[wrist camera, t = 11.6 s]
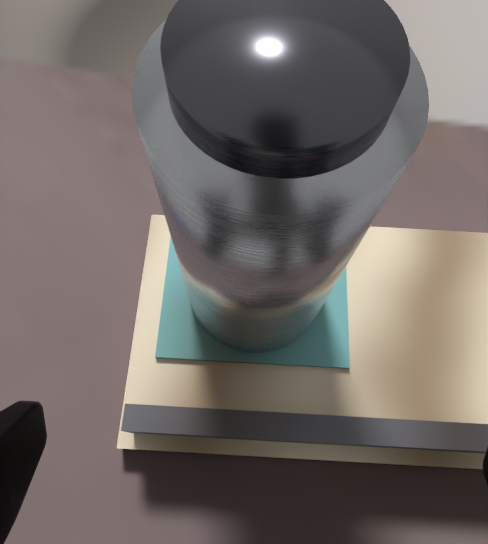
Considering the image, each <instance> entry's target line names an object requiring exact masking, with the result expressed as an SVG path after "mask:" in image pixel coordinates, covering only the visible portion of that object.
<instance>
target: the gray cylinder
mask: <svg viewBox="0 0 488 544" xmlns="http://www.w3.org/2000/svg"><path fill="white" fill-rule="evenodd" d="M132 104H133V110H134V114H135V118H136V122H137V125H138V129H139V132H140V135H141V139H142V142H143V145H144V149H145V152H146V155H147V159H148V162H149V165H150V169H151V172H152V175H153V178H154V182H155V185H156V188H157V192H158V195H159V198H160V202H161V205H162V208H163V212H164V215H165V218H166V222H167V225H168V228H169V232H170V235H171V238H172V242H173V245H174V248H175V252H176V255H177V258H178V262H179V265H180V268H181V272H182V275H183V278H184V281H185V285H186V288H187V291H188V295H189V298H190V301H191V305H192V308H193V311H194V313H195V316H196V318H197V319H198V321H199V323H200V324H201V326H202V327H203V328H204V330H205V331H206V332H207V333H208V334H209V335H210V336H211V337H213V338H214V339H215V340H217V341H218V342H219V343H221V344H223V345H225V346H227V347H229V348H232V349H234V350H238V351H242V352H248V353H265V352H271V351H275V350H278V349H281V348H283V347H285V346H288V345H289V344H291V343H293V342H294V341H296V340H297V339H298V338H299V337H301V336H302V335H303V334H304V333H305V331H306V330H307V329H308V328H309V326H310V325H311V324H312V322H313V320H314V319H315V317H316V315H317V314H318V312H319V310H320V309H321V307H322V305H323V304H324V302H325V300H326V299H327V297H328V295H329V294H330V292H331V290H332V289H333V287H334V285H335V284H336V282H337V280H338V279H339V277H340V275H341V274H342V272H343V270H344V269H345V267H346V266H347V264H348V262H349V261H350V259H351V257H352V256H353V254H354V252H355V251H356V249H357V247H358V246H359V244H360V242H361V241H362V239H363V237H364V236H365V234H366V232H367V231H368V229H369V227H370V226H371V224H372V222H373V221H374V219H375V217H376V216H377V214H378V212H379V211H380V209H381V207H382V206H383V204H384V202H385V201H386V199H387V197H388V196H389V194H390V192H391V191H392V189H393V187H394V186H395V184H396V182H397V181H398V179H399V177H400V176H401V174H402V172H403V171H404V169H405V167H406V166H407V164H408V162H409V161H410V159H411V157H412V156H413V154H414V152H415V151H416V149H417V147H418V145H419V143H420V141H421V139H422V137H423V133H424V130H425V127H426V123H427V118H428V109H429V100H428V89H427V84H426V80H425V76H424V73H423V71H422V68H421V65H420V63H419V61H418V59H417V57H416V56H415V54H414V52H413V50H412V49H411V47H410V46H409V43H408V39H407V35H406V33H405V31H404V28H403V26H402V24H401V23H400V20H399V19H398V17H397V15H396V14H395V13H394V12H393V10H392V9H391V7H389V5H388V4H387V3H386V2H385V1H384V0H179V1H178V2H177V3H176V4H175V6H174V7H173V9H172V10H171V12H170V13H169V15H168V17H167V20H166V21H164V22H163V23H162V24H161V25H160V26H159V28H158V29H157V30H156V31H155V32H154V33H153V34H152V36H151V37H150V39H149V40H148V42H147V43H146V45H145V46H144V48H143V50H142V52H141V54H140V56H139V58H138V61H137V63H136V67H135V71H134V74H133V82H132Z"/></svg>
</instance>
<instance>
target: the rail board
mask: <svg viewBox="0 0 488 544" xmlns="http://www.w3.org/2000/svg"><path fill="white" fill-rule="evenodd" d="M487 447H488V233H477V232H459V231H441V230H423V229H404V228H386V227H369V229H368V231H367V232H366V234H365V236H364V237H363V239H362V241H361V242H360V244H359V246H358V247H357V249H356V251H355V252H354V254H353V256H352V257H351V259H350V261H349V262H348V264H347V266H346V267H345V269H344V270H343V272H342V274H341V275H340V277H339V279H338V280H337V282H336V284H335V285H334V287H333V289H332V290H331V292H330V294H329V295H328V297H327V299H326V300H325V302H324V304H323V305H322V307H321V309H320V310H319V312H318V314H317V315H316V317H315V319H314V320H313V322H312V324H311V325H310V326H309V328H308V329H307V330H306V331H305V333H304V334H303V335H302V336H301V337H299V338H298V339H297V340H296V341H294V342H293V343H291V344H289V345H288V346H285V347H283V348H281V349H278V350H275V351H271V352H265V353H248V352H242V351H238V350H234V349H232V348H229V347H227V346H225V345H223V344H221V343H219V342H218V341H217V340H215V339H214V338H213V337H211V336H210V335H209V334H208V333H207V332H206V331H205V330H204V328H203V327H202V326H201V324H200V323H199V321H198V319H197V318H196V316H195V313H194V311H193V308H192V305H191V301H190V298H189V295H188V291H187V288H186V285H185V281H184V278H183V275H182V272H181V268H180V265H179V262H178V258H177V255H176V252H175V248H174V245H173V242H172V238H171V235H170V232H169V228H168V225H167V222H166V218H165V215H152V217H151V223H150V230H149V237H148V243H147V250H146V256H145V263H144V270H143V276H142V283H141V290H140V296H139V303H138V310H137V316H136V323H135V329H134V336H133V343H132V349H131V356H130V363H129V369H128V376H127V382H126V389H125V396H124V402H123V409H122V416H121V422H120V429H119V436H118V442H117V448H119V449H136V450H154V451H171V452H189V453H206V454H224V455H241V456H259V457H276V458H294V459H311V460H329V461H347V462H364V463H382V464H399V465H417V466H434V467H452V468H469V469H483V459H484V456H485V453H486V450H487Z"/></svg>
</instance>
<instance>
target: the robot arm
mask: <svg viewBox="0 0 488 544" xmlns="http://www.w3.org/2000/svg"><path fill="white" fill-rule="evenodd" d="M46 439H47V432H46V425H45V419H44V412H43V407H42V405H41V403H39V402H36V401H18V402H16V403H14V404H12V405H11V406H9V407H7V408H6V409H4V410H2V411H0V544H4V542H5V540H6V538H7V536H8V534H9V532H10V530H11V528H12V526H13V524H14V522H15V520H16V518H17V515H18V513H19V511H20V508H21V506H22V503H23V501H24V498H25V496H26V493H27V490H28V488H29V485H30V483H31V480H32V478H33V475H34V473H35V470H36V468H37V465H38V463H39V460H40V458H41V455H42V452H43V450H44V447H45V444H46ZM483 473H484V476H485V479H486V482H487V485H488V447H487V450H486V453H485V456H484V459H483Z"/></svg>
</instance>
